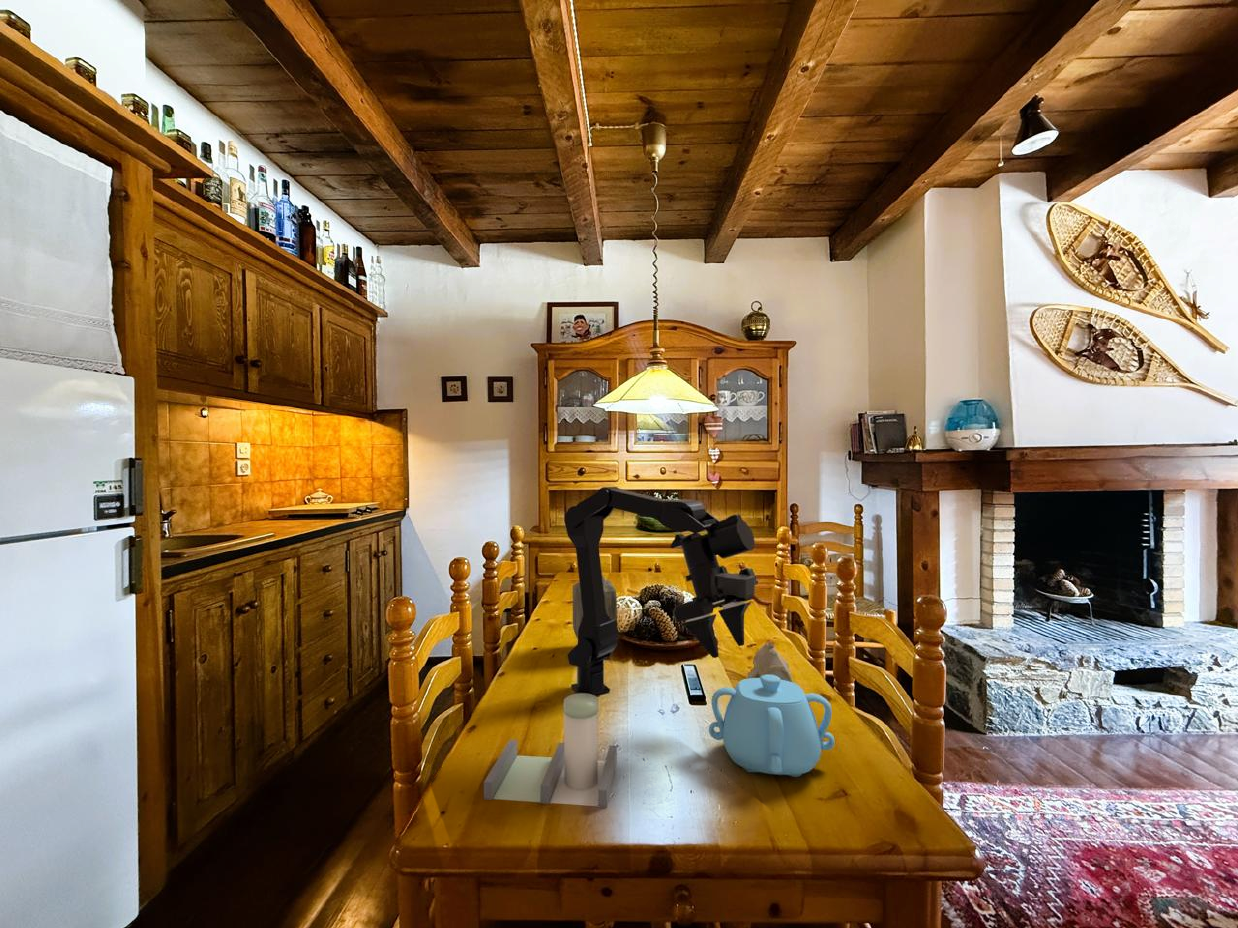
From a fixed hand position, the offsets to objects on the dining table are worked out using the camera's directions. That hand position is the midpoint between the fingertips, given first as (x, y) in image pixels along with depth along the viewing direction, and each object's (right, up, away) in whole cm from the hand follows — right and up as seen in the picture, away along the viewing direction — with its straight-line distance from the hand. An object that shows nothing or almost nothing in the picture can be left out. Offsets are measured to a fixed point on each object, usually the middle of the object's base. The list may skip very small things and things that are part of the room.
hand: (729, 651), depth 98 cm
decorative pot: (+5, -15, -7) cm, 18 cm away
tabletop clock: (-26, -15, +44) cm, 53 cm away
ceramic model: (+13, -16, +21) cm, 29 cm away
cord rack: (-29, -15, -15) cm, 36 cm away
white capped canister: (-25, -14, -15) cm, 33 cm away
